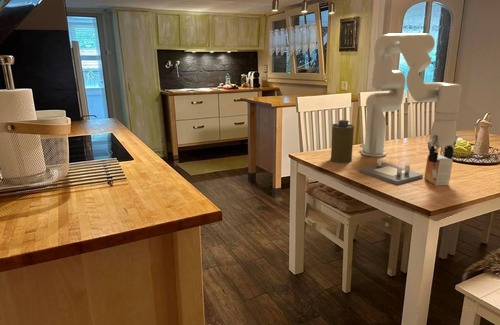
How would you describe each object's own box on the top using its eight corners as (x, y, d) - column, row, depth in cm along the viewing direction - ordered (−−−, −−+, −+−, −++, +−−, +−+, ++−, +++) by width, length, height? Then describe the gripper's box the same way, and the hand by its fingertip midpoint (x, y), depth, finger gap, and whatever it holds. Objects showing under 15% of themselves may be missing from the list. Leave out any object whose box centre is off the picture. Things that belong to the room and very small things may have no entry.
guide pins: (371, 168, 151) (372, 159, 149) (382, 165, 154) (383, 157, 153) (399, 177, 139) (400, 168, 137) (410, 174, 142) (411, 165, 140)
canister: (356, 160, 168) (359, 120, 162) (343, 164, 162) (346, 123, 156) (338, 155, 176) (340, 117, 171) (325, 159, 170) (327, 120, 164)
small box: (423, 179, 140) (427, 154, 137) (436, 178, 141) (440, 154, 138) (435, 185, 133) (439, 160, 130) (449, 185, 133) (453, 159, 130)
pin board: (359, 171, 151) (359, 167, 151) (383, 165, 159) (384, 162, 158) (396, 184, 135) (397, 180, 134) (422, 177, 142) (423, 173, 141)
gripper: (450, 113, 136) (444, 154, 141) (422, 117, 128) (417, 161, 133) (469, 116, 130) (462, 158, 134) (441, 120, 122) (435, 165, 127)
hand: (440, 160), depth 134 cm, fingers open, 9 cm apart
